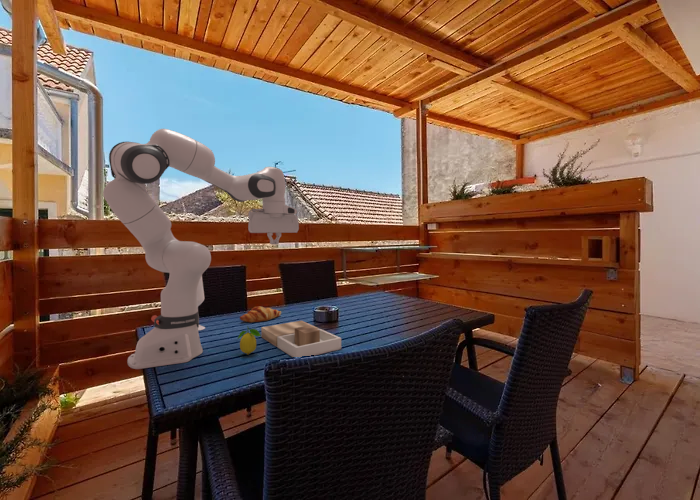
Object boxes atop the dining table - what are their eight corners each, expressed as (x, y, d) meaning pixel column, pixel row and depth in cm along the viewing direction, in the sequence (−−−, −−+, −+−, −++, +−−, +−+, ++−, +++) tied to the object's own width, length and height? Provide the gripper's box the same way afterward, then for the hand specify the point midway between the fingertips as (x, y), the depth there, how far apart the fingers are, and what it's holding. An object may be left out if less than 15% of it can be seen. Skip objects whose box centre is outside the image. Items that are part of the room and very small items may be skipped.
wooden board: (276, 346, 128) (276, 335, 128) (261, 337, 140) (261, 327, 139) (318, 337, 139) (318, 327, 139) (301, 329, 150) (301, 320, 150)
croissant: (278, 321, 177) (274, 306, 179) (287, 315, 170) (283, 300, 172) (237, 328, 162) (234, 312, 165) (246, 322, 156) (242, 305, 158)
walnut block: (294, 344, 130) (305, 350, 123) (294, 328, 130) (305, 333, 123) (308, 341, 133) (319, 346, 127) (308, 325, 133) (319, 330, 127)
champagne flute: (184, 329, 150) (183, 274, 149) (198, 325, 156) (196, 272, 155) (195, 331, 147) (194, 275, 146) (208, 327, 153) (207, 273, 152)
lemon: (261, 355, 120) (260, 326, 119) (244, 359, 116) (244, 329, 115) (253, 350, 125) (252, 322, 124) (236, 353, 121) (236, 325, 120)
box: (296, 359, 115) (296, 347, 115) (277, 347, 128) (277, 336, 127) (341, 348, 126) (341, 338, 126) (319, 338, 138) (319, 328, 138)
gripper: (251, 208, 129) (251, 245, 130) (300, 209, 141) (300, 244, 142) (245, 208, 134) (245, 244, 135) (293, 210, 147) (293, 243, 147)
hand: (274, 244), depth 139 cm, fingers closed
